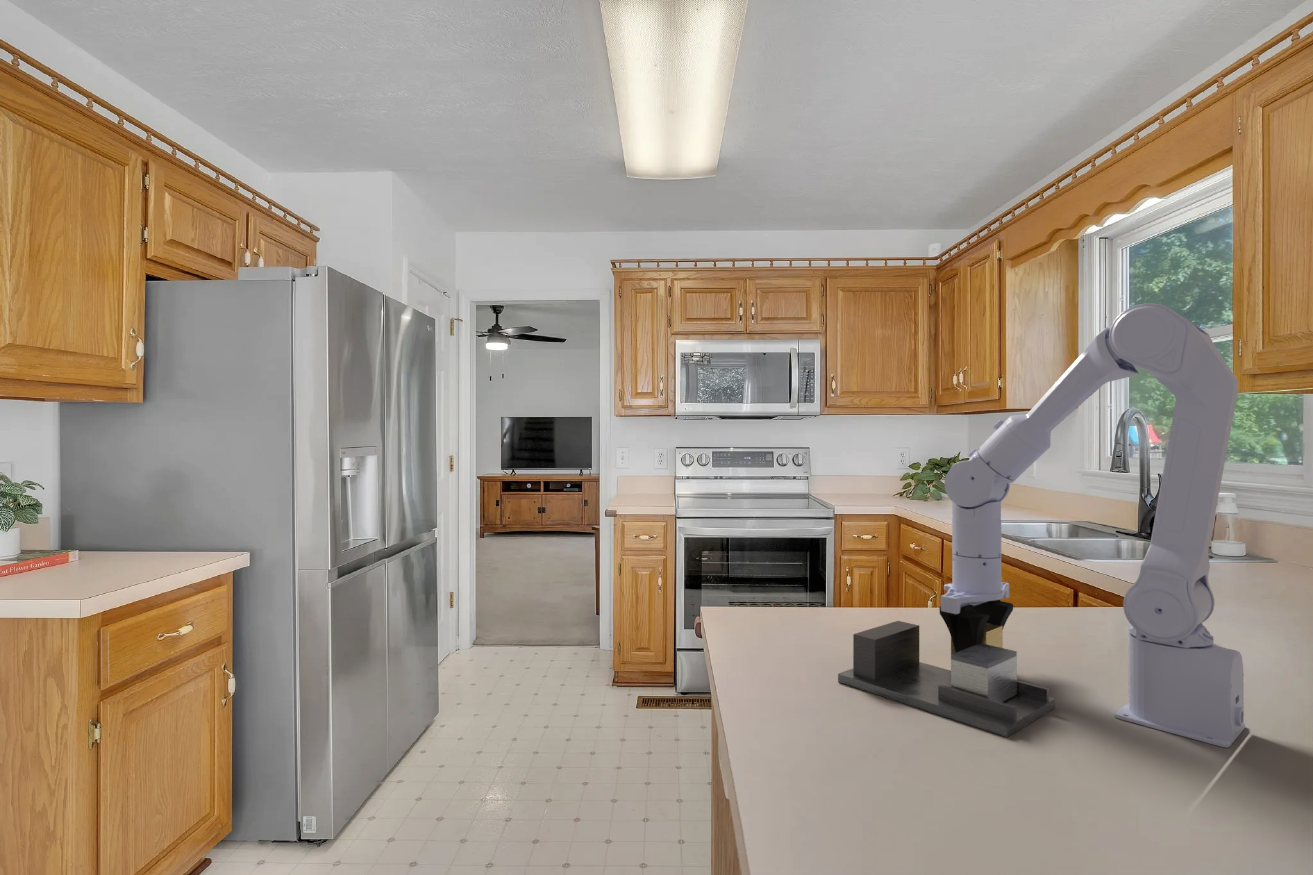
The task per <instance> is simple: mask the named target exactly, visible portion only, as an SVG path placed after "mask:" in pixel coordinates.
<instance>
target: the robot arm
mask: <svg viewBox="0 0 1313 875" xmlns="http://www.w3.org/2000/svg"><path fill="white" fill-rule="evenodd" d="M1136 367H1137V368H1139V369H1142V370H1143V371H1146V372H1147V373H1149V374H1151V375H1152V376H1153V378H1155V380H1156V381H1158V382H1159V383H1160V384H1161V385H1162V386H1163V387H1164V388H1165V389H1166V390H1168V392H1170V393H1171V394H1172V395H1173V396H1174V398H1175V403H1174V408H1173V414H1172V419H1171V426H1170V431H1169V435H1168V436H1169V438H1168V442H1167V446H1166V454H1165V459H1164V464H1163V470H1162V477H1161V482H1160V486H1159V493H1158V498H1157V504H1156V510H1155V514H1154V520H1153V521H1154V522H1153V526H1152V532H1151V536H1150V537H1151V538H1150V543H1149V547H1148V548H1147V551H1146V553H1145V556H1144V558H1143V560H1142V561H1141V562H1142V563H1141V566H1140V570H1139V575H1138V577H1137V579H1136V581H1135V583H1133V584H1132V586H1130V588H1128V589H1127V591H1126V593H1125V595H1124V597H1123V602H1122V604H1123V605H1122V606H1123V613H1124V615H1125V618H1126V619H1127V621H1128V623H1129V626H1128V627H1127V632H1128V635H1127V636H1128V638H1127V640H1128V641H1127V642H1128V643H1127V644H1128V647H1127V648H1128V650H1127V651H1128V652H1127V653H1128V657H1127V658H1128V660H1127V662H1128V664H1127V665H1128V668H1127V669H1128V703H1126V704H1125V705H1124V706H1123V707H1121V708H1120V709H1118V710H1117V711H1116V712H1114V717H1115V718H1117V719H1118V720H1121V721H1125V722H1129V723H1134V724H1137V725H1140V726H1145V727H1147V728H1151V729H1155V730H1158V731H1162V732H1166V733H1170V734H1174V735H1177V736H1181V737H1184V738H1189V739H1191V740H1195V741H1199V742H1203V743H1206V744H1210V745H1213V746H1216V747H1217V746H1218V747H1221V748H1229V747H1231V746H1232V744H1233V743H1234V742H1235V740H1236V739H1237V738H1238V737H1239V736H1240V735H1241V733H1242V732H1243V731H1244V730H1245V729H1246V723H1245V720H1244V719H1245V712H1244V711H1245V710H1244V708H1245V706H1244V704H1245V703H1244V699H1245V697H1244V691H1245V690H1244V685H1245V684H1244V662H1243V656H1242V653H1241V652H1240V651H1238V650H1235V649H1231V648H1226V647H1222V646H1221V645H1218V644H1216V643H1214V636H1213V635H1211V633H1210V631H1209V630H1208V628H1207V627H1206V626H1205V625H1203V624H1204V622H1206V621H1207V620H1208V619H1209V618H1210V617H1211V615H1212V614H1213V612H1214V608H1215V604H1216V603H1215V597H1214V594H1213V591H1212V589H1211V586H1210V583H1209V572H1210V569H1211V568H1210V558H1209V548H1210V543H1211V538H1212V533H1213V527H1214V523H1215V517H1216V512H1217V505H1218V501H1219V495H1220V490H1221V485H1222V479H1223V474H1224V469H1225V463H1226V459H1227V458H1226V457H1227V453H1228V448H1229V442H1230V441H1229V440H1230V436H1231V431H1232V425H1233V419H1234V415H1235V411H1236V410H1235V409H1236V404H1237V398H1238V393H1239V381H1238V378H1237V376H1235V374H1234V372H1233V370H1232V369H1231V367H1229V365H1228V363H1227V362H1226V360H1225V359H1224V358H1223V356H1222V354H1221V353H1220V351H1219V350H1218V347H1216V345H1215V344H1214V342H1213V340H1212V338H1211V335H1210V334H1209V333H1208V332H1207V331H1206V330H1203V329H1202V328H1201V327H1199V326H1198V325H1197V324H1195V323H1193V322H1192V321H1191V320H1189V319H1188V318H1186V317H1184V316H1181V315H1180V314H1178V313H1177V312H1176V311H1174V310H1173V309H1172V308H1170V307H1168V306H1166V305H1163V304H1160V303H1154V302H1153V303H1151V302H1147V303H1145V302H1144V303H1139V304H1135V305H1133V306H1131V307H1128V309H1125V310H1124V311H1122V312H1121V313H1120V314H1118V316H1117V317H1116V318H1115V319H1114V320H1113V322H1112V324H1111V326H1110V327H1105V328H1104V329H1102V330H1101V331H1100V332H1098V333H1097V334H1096V335H1095V336H1094V338H1093V339H1092V340H1091V342H1089V344H1088V345H1087V347H1086V348H1085V349H1083V351H1082V353H1080V355H1079V356H1078V357H1077V358H1076V359H1075V360H1074V362H1072V363H1071V364H1070V365H1069V367H1068V368H1067V369H1066V370H1065V372H1063V374H1061V375H1060V377H1059V378H1058V379H1057V381H1055V382H1054V383H1053V385H1052V386H1051V387H1049V389H1048V390H1047V391H1046V392H1045V393H1044V394H1043V395H1042V397H1041V398H1040V399H1039V400H1038V401H1037V403H1035V405H1034V406H1033V407H1032V408H1031V409H1030V410H1029V411H1028V412H1027V413H1025V414H1016V415H1015V414H1013V415H1010V416H1008V418H1007V419H1006V420H1005V419H999V420H998V421H997V422H996V423H995V424H994V425H992V427H993V429H995V431H994V432H993V433H992V434H991V435H990V436H989V437H988V438H987V439H986V440H985V441H984V442H983V444H981V445H980V446H979V447H978V448H977V449H971V450H970V452H969V453H968V454H967V456H968V457H969V460H962V461H958V462H956V463H953V464H952V465H951V467H950V469H949V470H948V471H947V473H946V475H945V478H944V491H945V494H946V496H948V498H949V500H950V501H951V503H952V506H951V507H952V508H951V509H952V512H951V513H952V518H951V520H952V521H951V522H952V523H951V524H952V526H951V528H952V535H951V538H952V540H951V550H952V553H951V554H952V555H951V556H952V559H951V560H952V561H951V566H952V567H951V568H952V570H951V573H952V575H951V576H952V580H951V582H950V583H946V584H944V585H943V590H944V591H947V592H946V593H945V594H942V595H940V606H938V607H939V615H940V616H941V618H942V620H943V621H944V623H945V625H946V627H947V630H948V632H949V635H950V639H951V638H952V641H953V645H954V649H955V653H957V652H959V651H962V650H965V649H967V648H970V647H972V646H975V645H977V644H980V642H981V637H982V633H983V630H984V627H985V624H986V623H991V624H996V625H1001V626H1003V629H1004V627H1005V625H1006V623H1007V621H1008V620H1009V617H1010V615H1011V613H1013V611H1014V604H1013V603H1011V602H1007V601H1001V600H1002V599H1009V598H1010V582H1004V581H1002V513H1001V510H1002V502H1003V501H1004V500H1005V499H1006V497H1007V496H1008V494H1009V492H1010V487H1011V484H1013V483H1014V482H1015V481H1016V480H1017V479H1018V478H1019V477H1020V476H1021V475H1022V474H1023V473H1025V472H1026V471H1027V470H1028V469H1029V468H1030V467H1031V466H1032V465H1033V464H1034V463H1035V462H1036V461H1037V460H1039V458H1040V457H1041V456H1042V455H1043V454H1044V453H1046V452H1047V451H1048V450H1049V449H1050V448H1051V444H1052V443H1051V437H1052V436H1051V433H1052V431H1053V430H1054V429H1055V428H1056V427H1057V426H1058V425H1060V424H1061V423H1062V422H1063V421H1064V420H1065V419H1066V418H1068V416H1070V415H1072V413H1073V412H1074V411H1075V410H1076V409H1077V408H1079V407H1080V406H1081V405H1082V404H1083V403H1084V402H1086V401H1087V400H1088V399H1089V398H1090V397H1091V396H1092V395H1093V394H1094V393H1096V392H1097V391H1098V390H1099V389H1101V388H1102V386H1103V385H1105V384H1107V383H1110V382H1114V381H1118V380H1121V379H1125V378H1130V377H1135V376H1138V375H1139V374H1140V373H1139V371H1138V370H1137V368H1136Z"/></svg>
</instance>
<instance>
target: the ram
mask: <svg viewBox="0 0 1313 875" xmlns="http://www.w3.org/2000/svg"><path fill="white" fill-rule="evenodd" d="M1017 653H1018V652H1017V650H1013V649H1009V648H1004V647H1003V648H1000V647H996V646H991V645H987V644H983V643H980V644H977V645H975V646H972V647H970V648H967V649H965V650H962V651H959V652H957V653H954V654H952V655H951V654H950V670H951V688H954V689H957V690H961V691H964V692H968V693H971V694H975V695H978V696H981V697H985V698H988V699H992V700H995V701H999V702H1003V701H1005V700H1007V699H1009V698H1011V697H1013V696H1014V695H1016V694H1017V680H1018V675H1017V674H1018V669H1017V668H1018V665H1017V662H1018V660H1017V657H1018V656H1017Z"/></svg>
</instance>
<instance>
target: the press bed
mask: <svg viewBox="0 0 1313 875" xmlns="http://www.w3.org/2000/svg"><path fill="white" fill-rule="evenodd" d="M852 638H853V642H852V643H853V645H852V646H853V648H852V649H853V650H852V652H853V653H852V658H853V659H852V660H853V666H852V667H853V668H850V669H847V670H845V671H842V672H839V673H838V674H837V682H838V683H841V684H843V685H847V686H850V687H852V688H854V689H859V690H861V691H862V690H863V691H865V692H868V693H871V694H873V695H874V694H875V695H876V696H879V697H883V698H886V699H889V700H892V701H895V702H899V703H901V704H904V705H908V706H910V707H914V708H917V709H920V710H923V711H926V712H929V713H932V714H935V715H938V716H941V717H944V718H947V719H950V720H954V721H956V722H959V723H963V724H966V725H968V726H972V727H974V728H978V729H981V730H983V731H987V732H990V733H993V734H995V735H996V734H997V735H1000V736H1002V737H1005V738H1008V737H1010V736H1011V735H1014V734H1015V733H1017V732H1018V731H1020V730H1022V729H1023V728H1025V727H1026V726H1028V725H1030V724H1031V723H1033V722H1034V721H1036V720H1037V719H1039V718H1041V717H1043V716H1044V715H1046V714H1047V713H1049V712H1051V711H1052V710H1054V709H1055V708H1056V698H1054V697H1050V688H1049V687H1045V686H1041V685H1038V684H1035V683H1034V684H1033V683H1030V682H1026V681H1023V680H1018V679H1017V694H1016V695H1014V696H1013V697H1011V698H1009V699H1007V700H1005V701H1003V702H999V701H995V700H992V699H988V698H985V697H981V696H978V695H975V694H971V693H968V692H964V691H961V690H957V689H954V688H951V669H950V670H949V669H946V668H943V667H939V666H936V665H931V664H928V663H924V662H920V625H919V624H914V623H909V622H905V621H901V620H897V621H896V620H895V621H892V622H889V623H887V624H882V625H879V626H876V627H873V628H870V629H866V630H863V631H859V632H856V633H853V636H852Z"/></svg>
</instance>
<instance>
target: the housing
mask: <svg viewBox="0 0 1313 875" xmlns="http://www.w3.org/2000/svg"><path fill="white" fill-rule="evenodd" d="M1003 630H1004V628H1003V626H1001V625H996V624H991V623H986V624H985V627H984V630H983V633H982V637H981V642H980V643H983V644H987V645H991V646H996V647H1000V648H1004V647H1003V643H1004V642H1003V638H1004V637H1003ZM954 653H955V649H954V645H953V641H952V638H951V637H950V656H951V655H952V654H954Z"/></svg>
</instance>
